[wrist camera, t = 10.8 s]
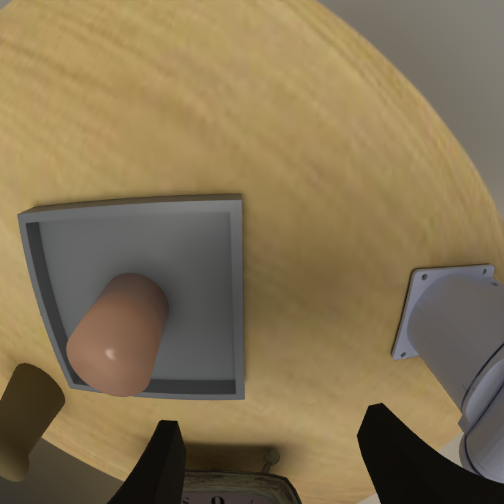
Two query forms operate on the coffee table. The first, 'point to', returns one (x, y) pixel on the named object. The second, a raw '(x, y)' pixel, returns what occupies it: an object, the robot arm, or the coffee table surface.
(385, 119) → the coffee table surface
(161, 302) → the brown clay cylinder
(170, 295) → the tray
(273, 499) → the tabletop clock
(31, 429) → the brown pawn figure
